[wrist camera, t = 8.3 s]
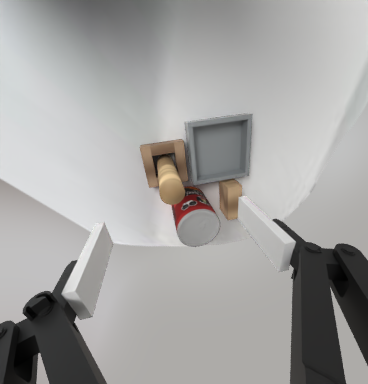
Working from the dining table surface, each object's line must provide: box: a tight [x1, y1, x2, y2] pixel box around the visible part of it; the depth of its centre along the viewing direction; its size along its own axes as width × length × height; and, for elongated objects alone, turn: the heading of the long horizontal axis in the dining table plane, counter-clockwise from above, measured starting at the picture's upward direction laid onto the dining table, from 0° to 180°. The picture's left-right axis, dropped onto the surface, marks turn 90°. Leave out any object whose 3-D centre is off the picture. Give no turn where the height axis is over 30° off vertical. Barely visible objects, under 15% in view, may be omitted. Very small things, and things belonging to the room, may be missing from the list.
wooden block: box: [219, 178, 242, 220], centre depth 38 cm, size 8×3×5 cm, turn 7°
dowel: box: [157, 154, 185, 205], centre depth 28 cm, size 3×3×15 cm
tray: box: [185, 114, 252, 185], centre depth 34 cm, size 12×12×3 cm
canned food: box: [172, 186, 220, 247], centre depth 34 cm, size 8×8×11 cm
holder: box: [140, 139, 188, 188], centre depth 33 cm, size 8×8×2 cm
